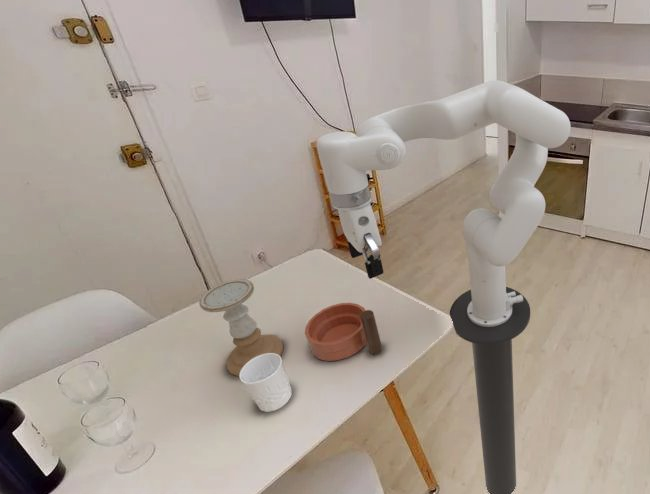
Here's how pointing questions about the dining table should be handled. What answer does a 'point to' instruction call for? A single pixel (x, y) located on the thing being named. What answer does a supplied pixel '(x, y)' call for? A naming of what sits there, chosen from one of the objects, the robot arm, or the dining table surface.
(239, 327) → the candle holder
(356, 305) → the bowl
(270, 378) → the white cup
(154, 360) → the dining table surface
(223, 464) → the dining table surface
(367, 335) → the dark brown cylinder
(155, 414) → the dining table surface
